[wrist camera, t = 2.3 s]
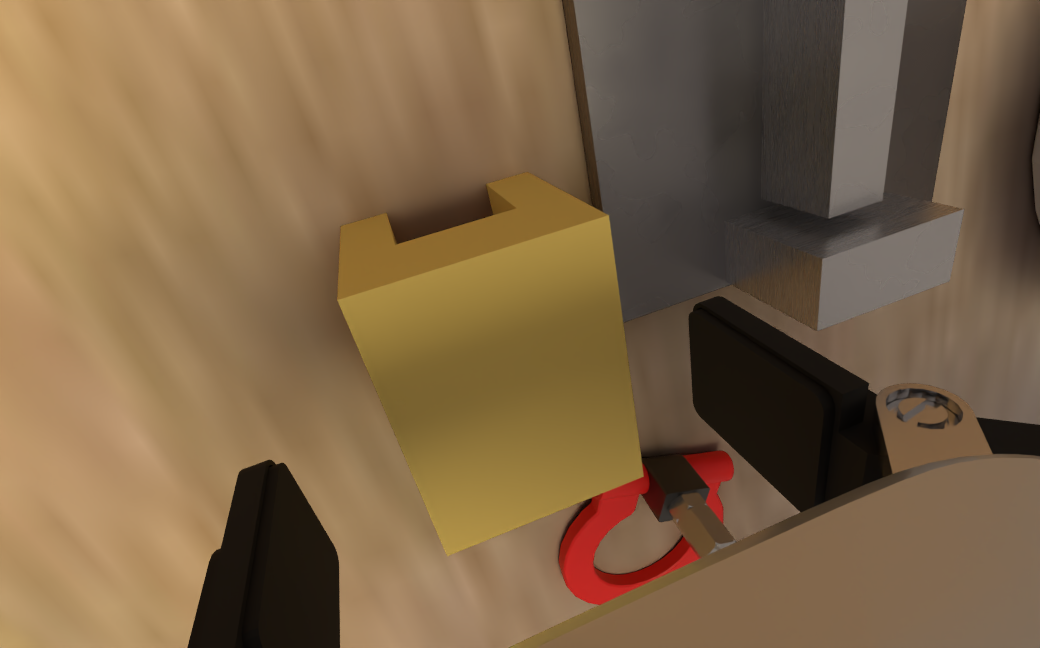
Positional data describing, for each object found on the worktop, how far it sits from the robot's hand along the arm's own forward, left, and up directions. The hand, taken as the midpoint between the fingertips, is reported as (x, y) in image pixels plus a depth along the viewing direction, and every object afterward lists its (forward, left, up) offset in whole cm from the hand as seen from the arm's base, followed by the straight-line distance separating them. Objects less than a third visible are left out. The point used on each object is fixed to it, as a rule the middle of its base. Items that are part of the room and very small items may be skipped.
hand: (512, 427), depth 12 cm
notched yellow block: (0, 0, -7) cm, 7 cm away
